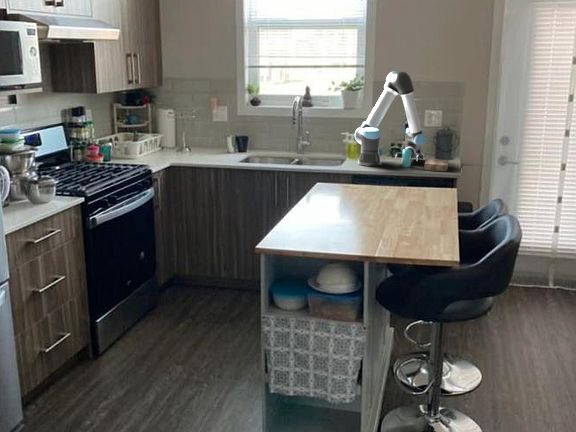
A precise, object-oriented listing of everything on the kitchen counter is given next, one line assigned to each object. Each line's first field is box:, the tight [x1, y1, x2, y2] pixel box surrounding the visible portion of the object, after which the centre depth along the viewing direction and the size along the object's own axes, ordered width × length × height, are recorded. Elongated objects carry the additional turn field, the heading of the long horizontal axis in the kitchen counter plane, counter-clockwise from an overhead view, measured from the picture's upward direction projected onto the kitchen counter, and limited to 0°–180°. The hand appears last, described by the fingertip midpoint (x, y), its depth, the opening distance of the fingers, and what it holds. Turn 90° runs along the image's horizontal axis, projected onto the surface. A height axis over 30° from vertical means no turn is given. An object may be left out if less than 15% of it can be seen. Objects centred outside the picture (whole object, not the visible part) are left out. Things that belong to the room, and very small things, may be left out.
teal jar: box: [401, 148, 412, 168], centre depth 409 cm, size 6×6×11 cm
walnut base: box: [423, 158, 449, 172], centre depth 405 cm, size 14×18×4 cm
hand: (406, 158), depth 406 cm, fingers open, 13 cm apart
